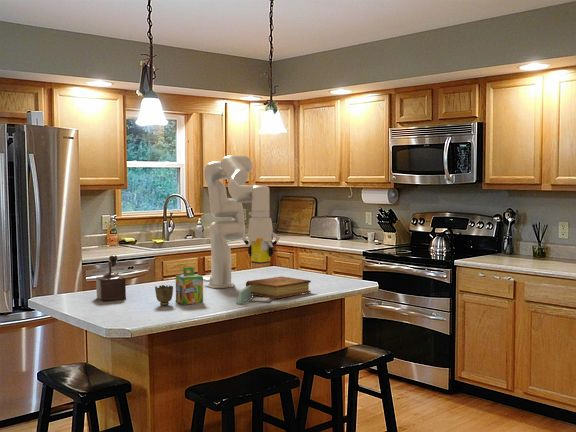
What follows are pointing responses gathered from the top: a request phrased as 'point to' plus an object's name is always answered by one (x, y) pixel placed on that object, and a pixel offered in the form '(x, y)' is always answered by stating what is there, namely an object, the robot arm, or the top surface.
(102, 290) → the coffee grinder
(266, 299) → the coaster
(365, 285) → the top surface
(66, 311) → the top surface
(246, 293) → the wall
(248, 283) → the diary
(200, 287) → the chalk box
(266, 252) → the supplement box
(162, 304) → the cup
